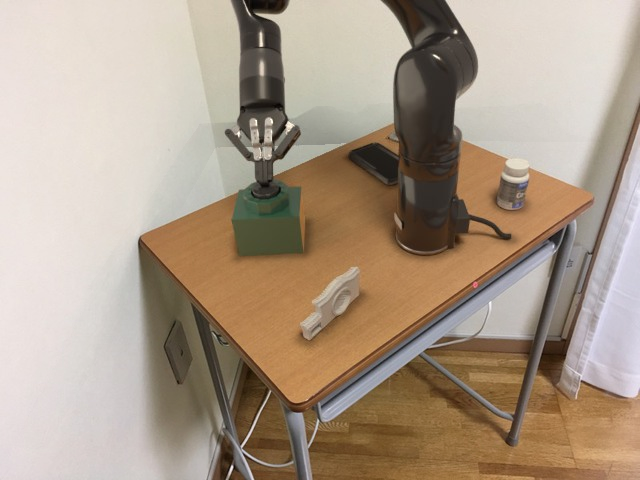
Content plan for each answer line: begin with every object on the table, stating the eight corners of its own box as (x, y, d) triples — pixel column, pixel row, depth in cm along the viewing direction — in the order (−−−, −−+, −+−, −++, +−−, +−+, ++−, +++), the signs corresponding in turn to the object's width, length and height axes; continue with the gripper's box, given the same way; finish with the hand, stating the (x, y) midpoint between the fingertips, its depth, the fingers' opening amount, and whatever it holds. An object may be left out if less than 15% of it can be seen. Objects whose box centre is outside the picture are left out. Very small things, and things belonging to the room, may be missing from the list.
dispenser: (305, 221, 95) (300, 174, 88) (303, 253, 88) (298, 204, 81) (245, 224, 95) (236, 178, 89) (239, 256, 88) (228, 208, 82)
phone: (376, 141, 114) (420, 169, 104) (376, 145, 115) (420, 173, 105) (346, 152, 111) (388, 181, 101) (346, 156, 112) (388, 186, 102)
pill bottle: (517, 213, 92) (526, 173, 87) (492, 206, 94) (498, 165, 89) (527, 201, 95) (536, 160, 90) (502, 193, 97) (509, 154, 92)
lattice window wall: (309, 343, 72) (306, 314, 68) (300, 337, 73) (296, 308, 69) (362, 295, 79) (361, 265, 75) (352, 290, 80) (351, 261, 76)
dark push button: (281, 192, 88) (279, 179, 86) (279, 207, 85) (277, 194, 83) (255, 194, 88) (253, 181, 87) (252, 208, 85) (250, 195, 83)
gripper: (217, 76, 83) (218, 181, 81) (298, 71, 82) (302, 177, 80) (227, 94, 91) (229, 191, 89) (303, 90, 90) (306, 187, 88)
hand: (264, 184), depth 85 cm, fingers closed
